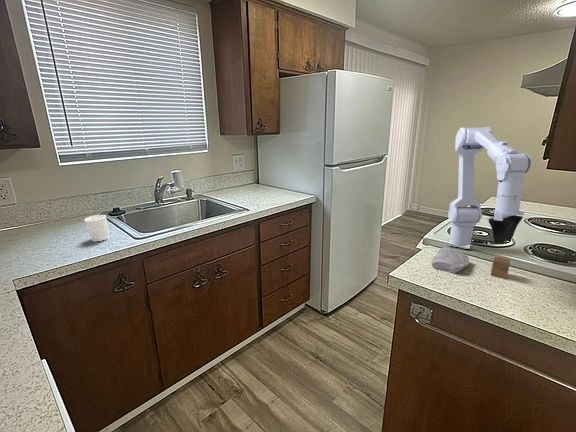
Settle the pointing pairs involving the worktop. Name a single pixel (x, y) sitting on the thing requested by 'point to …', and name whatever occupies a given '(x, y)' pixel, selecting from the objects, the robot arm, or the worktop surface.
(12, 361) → the worktop surface
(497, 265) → the walnut block
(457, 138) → the robot arm
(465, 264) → the stone block
